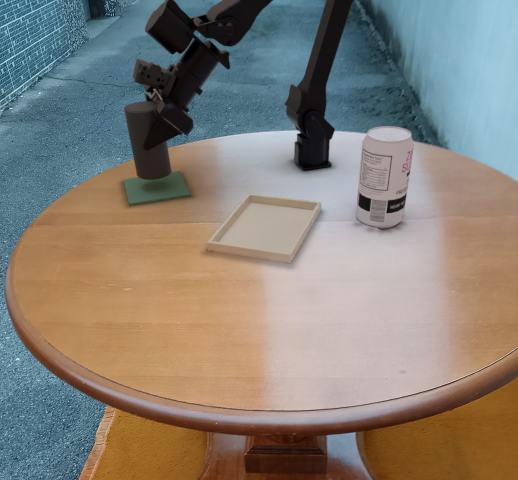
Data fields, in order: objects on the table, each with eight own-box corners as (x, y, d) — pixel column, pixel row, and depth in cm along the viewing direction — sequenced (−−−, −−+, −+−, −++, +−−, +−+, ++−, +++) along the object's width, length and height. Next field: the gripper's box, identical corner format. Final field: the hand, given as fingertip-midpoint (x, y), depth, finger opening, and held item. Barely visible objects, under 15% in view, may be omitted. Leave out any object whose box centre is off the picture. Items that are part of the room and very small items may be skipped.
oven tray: (248, 202, 102) (248, 193, 101) (321, 212, 98) (321, 202, 97) (207, 252, 88) (206, 242, 87) (290, 265, 84) (290, 254, 83)
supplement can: (351, 210, 98) (357, 126, 88) (395, 207, 99) (407, 123, 89) (361, 231, 92) (369, 144, 82) (408, 228, 92) (422, 140, 83)
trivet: (180, 173, 114) (180, 170, 113) (191, 196, 105) (190, 193, 105) (123, 182, 111) (123, 179, 111) (129, 206, 103) (128, 203, 102)
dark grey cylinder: (178, 170, 106) (169, 104, 98) (154, 182, 102) (142, 114, 94) (154, 163, 110) (143, 98, 101) (129, 175, 106) (116, 108, 97)
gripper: (146, 30, 99) (99, 101, 104) (164, 51, 85) (110, 132, 90) (193, 72, 106) (147, 136, 110) (217, 97, 92) (163, 170, 97)
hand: (141, 142), depth 102 cm, fingers closed on dark grey cylinder, 7 cm apart
